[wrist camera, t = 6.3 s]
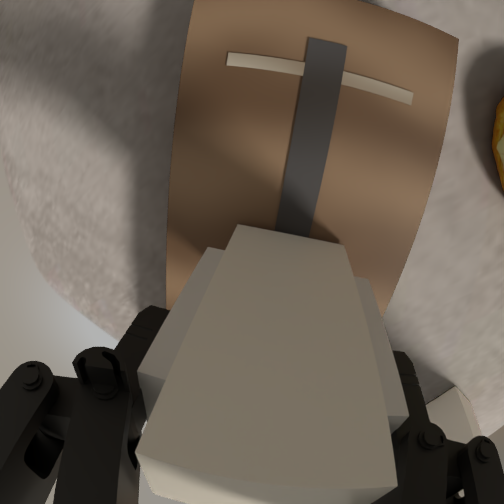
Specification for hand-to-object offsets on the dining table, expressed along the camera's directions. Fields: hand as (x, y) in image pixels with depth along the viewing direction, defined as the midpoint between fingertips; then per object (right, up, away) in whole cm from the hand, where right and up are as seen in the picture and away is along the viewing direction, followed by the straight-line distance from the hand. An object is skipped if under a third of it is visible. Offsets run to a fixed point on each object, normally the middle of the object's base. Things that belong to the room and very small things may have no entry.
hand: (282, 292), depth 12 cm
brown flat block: (+1, +4, +6) cm, 7 cm away
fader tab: (0, +1, +2) cm, 3 cm away
